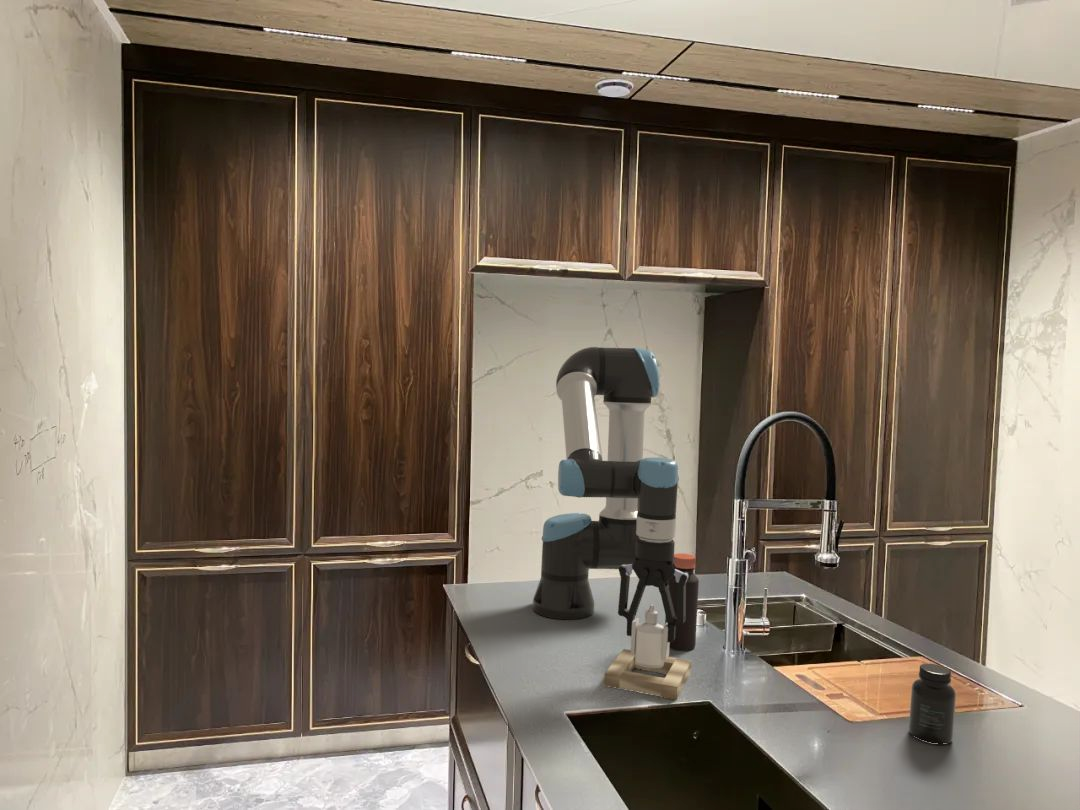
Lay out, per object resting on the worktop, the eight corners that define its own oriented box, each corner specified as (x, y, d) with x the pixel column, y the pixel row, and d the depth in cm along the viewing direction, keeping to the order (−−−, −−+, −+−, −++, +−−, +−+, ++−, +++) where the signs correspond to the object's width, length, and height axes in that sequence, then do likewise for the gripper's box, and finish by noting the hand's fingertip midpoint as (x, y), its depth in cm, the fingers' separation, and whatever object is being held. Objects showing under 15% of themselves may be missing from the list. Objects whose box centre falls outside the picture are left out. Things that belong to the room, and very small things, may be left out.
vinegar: (693, 641, 181) (698, 553, 180) (696, 652, 174) (701, 561, 173) (663, 638, 182) (667, 551, 180) (664, 650, 175) (669, 559, 174)
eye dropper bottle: (655, 672, 155) (658, 610, 154) (631, 664, 159) (633, 604, 158) (667, 666, 159) (670, 605, 158) (643, 658, 162) (646, 599, 161)
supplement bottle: (914, 723, 144) (919, 657, 143) (956, 736, 140) (961, 668, 139) (903, 736, 139) (908, 668, 138) (946, 750, 135) (952, 680, 134)
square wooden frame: (623, 660, 168) (623, 648, 168) (690, 672, 163) (691, 660, 163) (604, 686, 155) (604, 673, 155) (676, 700, 150) (677, 687, 150)
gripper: (603, 536, 157) (598, 653, 159) (699, 548, 150) (693, 669, 152) (614, 529, 164) (609, 641, 166) (706, 539, 157) (700, 656, 159)
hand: (649, 654), depth 159 cm, fingers closed on eye dropper bottle, 6 cm apart
